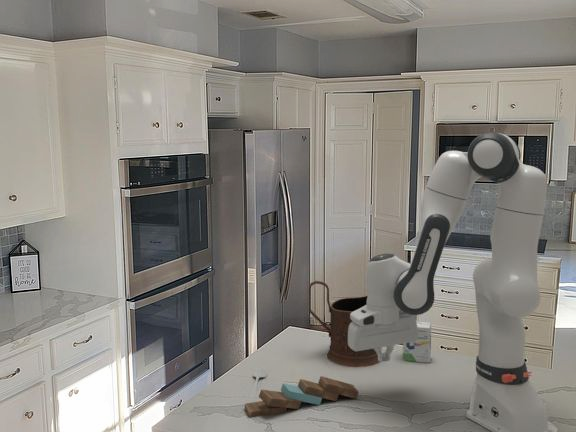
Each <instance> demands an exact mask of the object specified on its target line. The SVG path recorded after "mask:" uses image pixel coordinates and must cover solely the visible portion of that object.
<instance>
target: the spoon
mask: <svg viewBox="0 0 576 432" xmlns="http://www.w3.org/2000/svg"><path fill="white" fill-rule="evenodd" d="M260 374H261V376H260ZM267 376H268V373H267V370H266V369H265V368H264V367H259V368H257V369H256V370H255V371H254V373H253V375H252V377H253V378H255V381H254V384H253V385H252V388H251V390H250V391H249V394H248V396H249V398H250V399H251V398H252V399H253V398H254V397H256V395H257V390H258V383H259V380H260V379H261V378H262V379H263V378H266V377H267Z"/></svg>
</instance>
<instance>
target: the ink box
mask: <svg viewBox="0 0 576 432" xmlns="http://www.w3.org/2000/svg"><path fill="white" fill-rule="evenodd" d="M416 323H417V328H418V339H417V340H416V341H415V342H409V343H403V344H402V360H403V361H405V362H418V363H428V364H429V363H431V358H432V357H431V355H432V323H430V322H426V321H416Z"/></svg>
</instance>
